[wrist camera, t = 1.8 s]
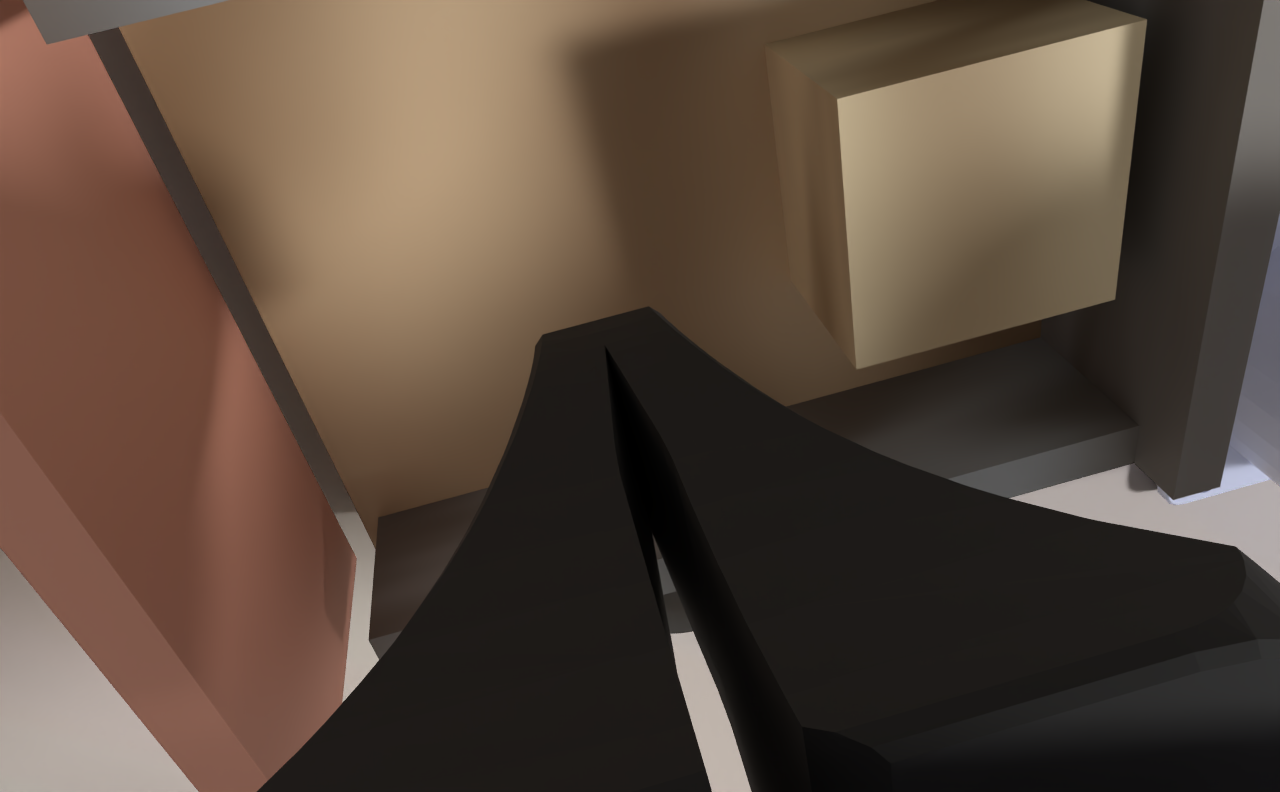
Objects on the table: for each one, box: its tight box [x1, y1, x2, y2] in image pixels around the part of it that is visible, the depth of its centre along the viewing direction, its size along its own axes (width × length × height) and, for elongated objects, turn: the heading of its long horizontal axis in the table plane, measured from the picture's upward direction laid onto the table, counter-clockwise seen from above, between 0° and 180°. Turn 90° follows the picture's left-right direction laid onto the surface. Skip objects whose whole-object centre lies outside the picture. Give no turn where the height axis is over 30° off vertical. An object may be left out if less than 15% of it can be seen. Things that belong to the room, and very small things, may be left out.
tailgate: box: [0, 0, 357, 792], centre depth 12 cm, size 1×11×6 cm, turn 11°
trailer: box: [23, 0, 1280, 660], centre depth 14 cm, size 14×15×5 cm
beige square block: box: [764, 0, 1147, 370], centre depth 14 cm, size 4×4×3 cm
